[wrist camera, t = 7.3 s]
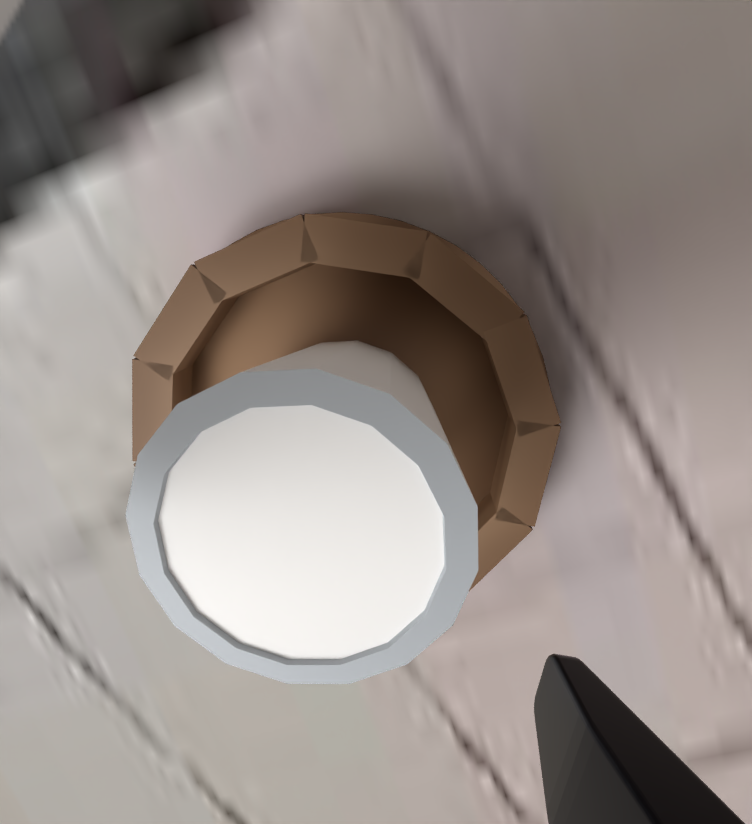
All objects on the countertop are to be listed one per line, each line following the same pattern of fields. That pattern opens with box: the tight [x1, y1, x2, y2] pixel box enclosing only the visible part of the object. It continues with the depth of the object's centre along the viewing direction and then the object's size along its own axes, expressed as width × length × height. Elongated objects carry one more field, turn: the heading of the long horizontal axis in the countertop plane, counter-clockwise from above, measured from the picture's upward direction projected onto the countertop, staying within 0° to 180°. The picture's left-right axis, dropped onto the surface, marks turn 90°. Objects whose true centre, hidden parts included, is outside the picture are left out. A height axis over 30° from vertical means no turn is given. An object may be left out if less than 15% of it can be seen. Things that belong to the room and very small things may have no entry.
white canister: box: [126, 341, 478, 684], centre depth 13 cm, size 7×7×7 cm
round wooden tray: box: [132, 212, 561, 591], centre depth 16 cm, size 13×13×2 cm
